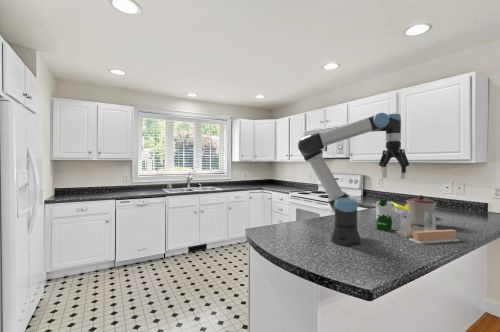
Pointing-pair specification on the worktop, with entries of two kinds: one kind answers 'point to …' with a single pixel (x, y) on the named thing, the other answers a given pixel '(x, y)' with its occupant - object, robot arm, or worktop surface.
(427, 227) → the hook stand
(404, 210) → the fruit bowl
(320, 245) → the worktop surface
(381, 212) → the milk carton
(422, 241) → the mat
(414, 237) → the rail
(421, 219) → the canister
